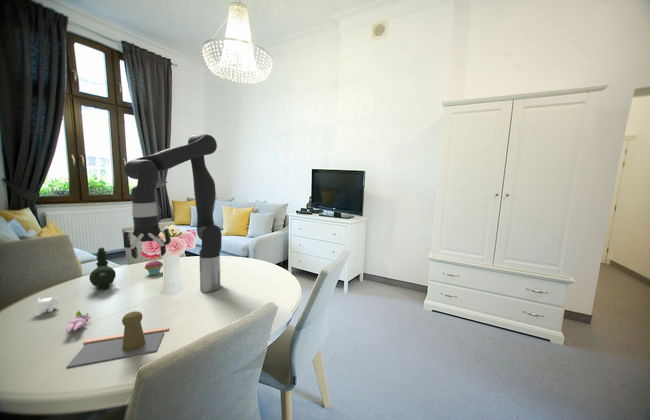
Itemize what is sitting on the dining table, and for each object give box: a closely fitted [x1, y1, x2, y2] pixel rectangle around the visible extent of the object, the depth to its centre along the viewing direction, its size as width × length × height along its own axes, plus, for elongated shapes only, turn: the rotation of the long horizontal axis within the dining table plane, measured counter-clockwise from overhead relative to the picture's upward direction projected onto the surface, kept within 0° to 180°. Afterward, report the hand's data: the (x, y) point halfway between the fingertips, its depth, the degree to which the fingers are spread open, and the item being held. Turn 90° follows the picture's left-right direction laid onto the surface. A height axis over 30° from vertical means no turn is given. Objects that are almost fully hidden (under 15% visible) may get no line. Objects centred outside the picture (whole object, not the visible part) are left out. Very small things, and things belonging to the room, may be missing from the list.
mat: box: [66, 331, 165, 369], centre depth 80 cm, size 22×10×1 cm, turn 111°
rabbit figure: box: [65, 310, 92, 333], centre depth 90 cm, size 6×6×15 cm
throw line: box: [82, 326, 170, 345], centre depth 86 cm, size 24×2×1 cm, turn 111°
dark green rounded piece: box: [88, 247, 116, 291], centre depth 123 cm, size 9×19×25 cm
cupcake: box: [144, 256, 164, 276], centre depth 140 cm, size 9×8×12 cm
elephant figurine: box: [34, 296, 60, 314], centre depth 99 cm, size 7×8×6 cm
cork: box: [121, 310, 145, 351], centre depth 80 cm, size 6×6×11 cm
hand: (149, 256), depth 94 cm, fingers open, 8 cm apart
